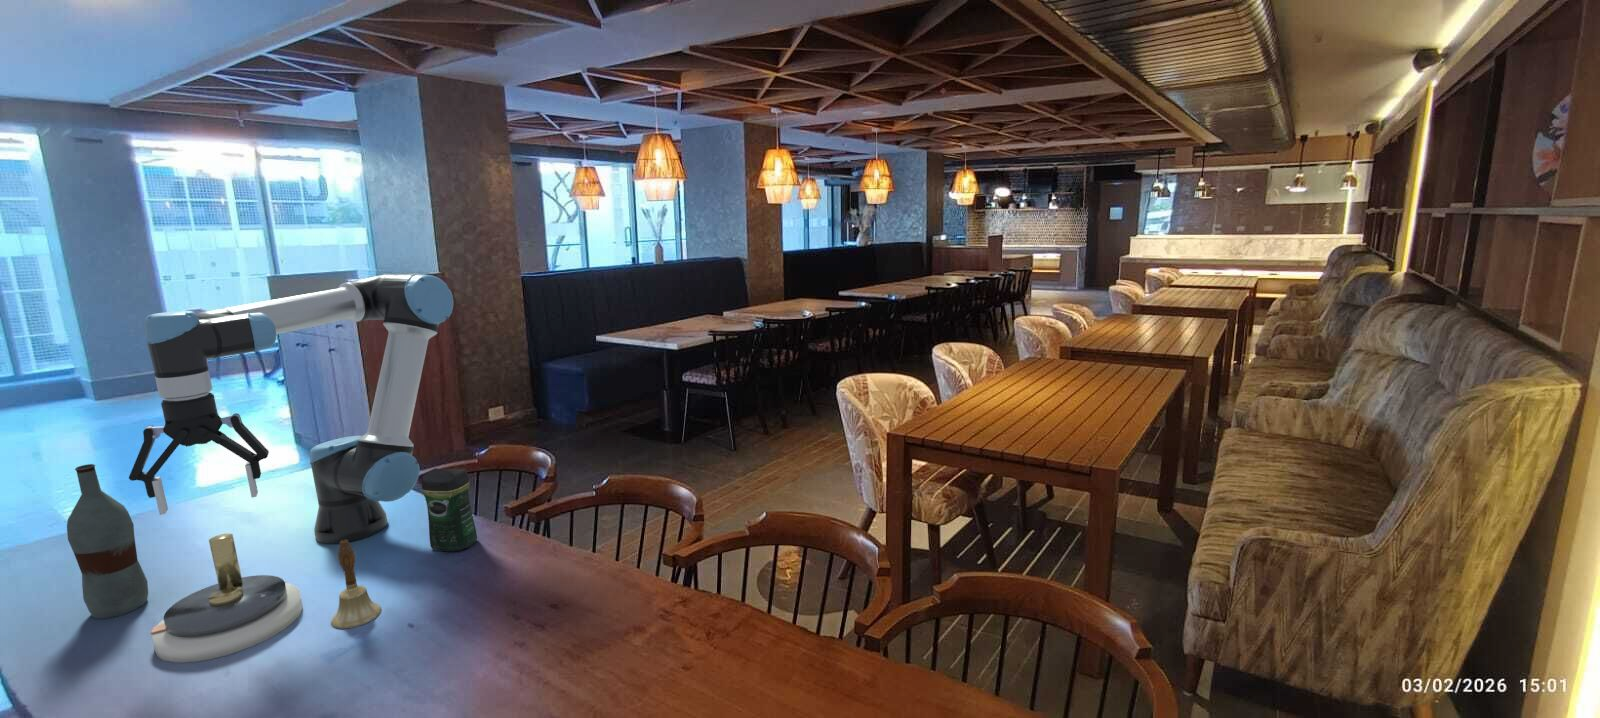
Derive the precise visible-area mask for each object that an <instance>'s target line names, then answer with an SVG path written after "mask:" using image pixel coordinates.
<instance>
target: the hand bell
mask: <svg viewBox="0 0 1600 718" xmlns="http://www.w3.org/2000/svg"><path fill="white" fill-rule="evenodd" d="M338 546H339V547H338V552H337V553H338V554H337V558H338V562H339V565H340V567H341V569H342V570H343V572H344V573H343V574H344V578H345V579H344V580H345V585H346V588H345V589H343V590H342V591H341V592H340V593H339V595H338V598H339V599H338V601H339V602H338V608H337V611H336V613H335V614H334V615H333V617H332V619H331V621H330V625H331V626H332V628H336V629H340V630H341V629H342V630H344V629H352V628H357V627H360V626H362V625H365V624H369V622H372V621H374V620H375V619H377V617H378V616H379V615H380V614H381V613H382V608H381V606H380V604H378V603H375V602H374V601H373V600H372V599H371V597H370V596H369V594H368V590H367V588H366V586H364V585H358V583H357V579H356V573H355V563H356V562H355V561H356V557H355V550H354V548H353V547H352V545H351V544H350V541H349V542H348V540H346V539H345V540H341V541H340V543H339V545H338Z"/></svg>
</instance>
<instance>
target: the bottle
mask: <svg viewBox="0 0 1600 718" xmlns="http://www.w3.org/2000/svg"><path fill="white" fill-rule="evenodd" d="M74 470H75V471H76V477H77V480H78V484H79V488H80V493H81V495H80V497H79V498H78V500H77V502H76V504H75V506H74V507H73V509H72V511H71V513H70V514H69V516H68V518H67V522H66V533H67V541H68V543H69V545H70V547H71V550H72V552H73V555H74V557H75V561H76V562H77V566H78V567H79V570H80V573H81V586H82V587H81V588H82V597H83V602H84V604H85V606H86V608H87V610H88V612H89V613H90V615H91V616H92V617H93V618H95V619H99V620H100V619H101V618H102V619H110V617H111V618H114V617H113V616H115V617H118V615H119V616H122V615H124V614H128V613H130V612H129V611H131V612H133V611H135V610H137V609H139V608H141V607H143V605H145V604H146V603H147V601H148V599H149V598H148V596H149V587H148V586H149V584H148V579H147V577H146V575H145V573H144V570H143V568H142V566H141V564H140V562H139V559H138V553H137V545H136V538H135V527H134V522H133V519H132V518H131V516H130V513H129V511H128V510H127V508H126V507H125V505H124V504H122V503H121V502H119V501H118V500H116V499H115V498H113V497H112V496H110V494H107V492H104V491H103V490H102V489H101V485H100V482H99V478H98V475H97V471H96V464H94V463H90V464H89V463H88V464H83V465H80V466H77V467H75V468H74ZM145 602H146V603H145ZM144 603H145V604H144ZM140 606H141V607H140ZM138 607H139V608H138ZM132 610H133V611H132ZM127 612H128V613H127ZM121 614H122V615H121Z"/></svg>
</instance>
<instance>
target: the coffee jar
mask: <svg viewBox="0 0 1600 718" xmlns="http://www.w3.org/2000/svg"><path fill="white" fill-rule="evenodd" d="M467 471H468V470H466V469H464V468H460V469H458V468H457V469H456V468H453V469H452V468H433V469H431V470H428V471H426V472H425V473H423V474H422V477H421V491H422V494H423V496H424V498H425V499H424V500H425V503H426V508H427V517H428V534H429V535H428V537H429V544H430V545H429V546H430V548H431V549H432V550H434V551H440V552H458V551H461V550H464V549H466V548H470V547H471V546H473V544H475V543H476V542H477V539H478V534H477V533H478V532H477V528H476V525H475V519H474V516H473V512H472V507H471V503H470V496H469V491H470V485H471V483H470V482H471V481H470V478H469V475H468V472H467Z"/></svg>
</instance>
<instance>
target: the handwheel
mask: <svg viewBox="0 0 1600 718" xmlns="http://www.w3.org/2000/svg"><path fill="white" fill-rule="evenodd" d="M208 543H209V548H210V551H211V556H212V561H213V565H214V570H215V575H216V579H217V583H216V584H212V585H208V586H207V587H204V588H202V589H200V590H197V591H195V592H192V593H191V594H189V595H187V596H185V597H183V598H181V599H180V600H178V601H176V602H175V603H174V604H173V605H171V607H169V608H168V609H167V610H166V612H165V613H164V615H163V619H164V623H165V627H166V631H167V632H168V633H169V634H170V635H173V636H177V637H200V636H207V635H212V634H216V633H220V632H224V631H228V630H231V629H234V628H237V627H240V626H243V625H245V624H248V623H250V622H252V621H255V620H257V619H259V618H261V617H263V616H264V615H266V614H268V613H270V612H271V611H273V610H274V609H275V608H277V607H278V606H279V605H280V604H281V603H282V602H283V601H284V600H285V598H286V596H287V590H286V585H285V583H286V581H285V580H284V579H283V578H281V577H279V576H276V575H267V574H262V575H261V574H257V575H249V576H242V572H241V569H240V568H241V567H240V563H239V559H238V558H239V557H238V554H237V549H236V548H237V547H236V544H235V540H234V534H233V533H228V532H227V533H222V534H218V535H215V536H213V537H211V538H209V540H208Z"/></svg>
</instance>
